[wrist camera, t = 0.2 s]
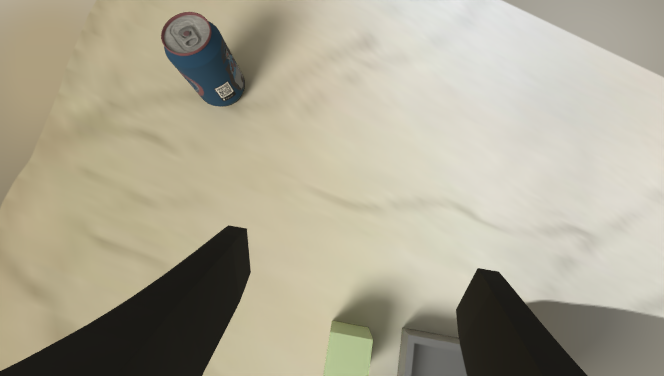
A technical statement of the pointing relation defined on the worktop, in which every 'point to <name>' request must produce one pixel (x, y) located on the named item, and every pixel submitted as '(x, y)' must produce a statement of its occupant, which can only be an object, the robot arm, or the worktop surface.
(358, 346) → the light green block
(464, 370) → the bin
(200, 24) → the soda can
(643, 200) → the worktop surface
